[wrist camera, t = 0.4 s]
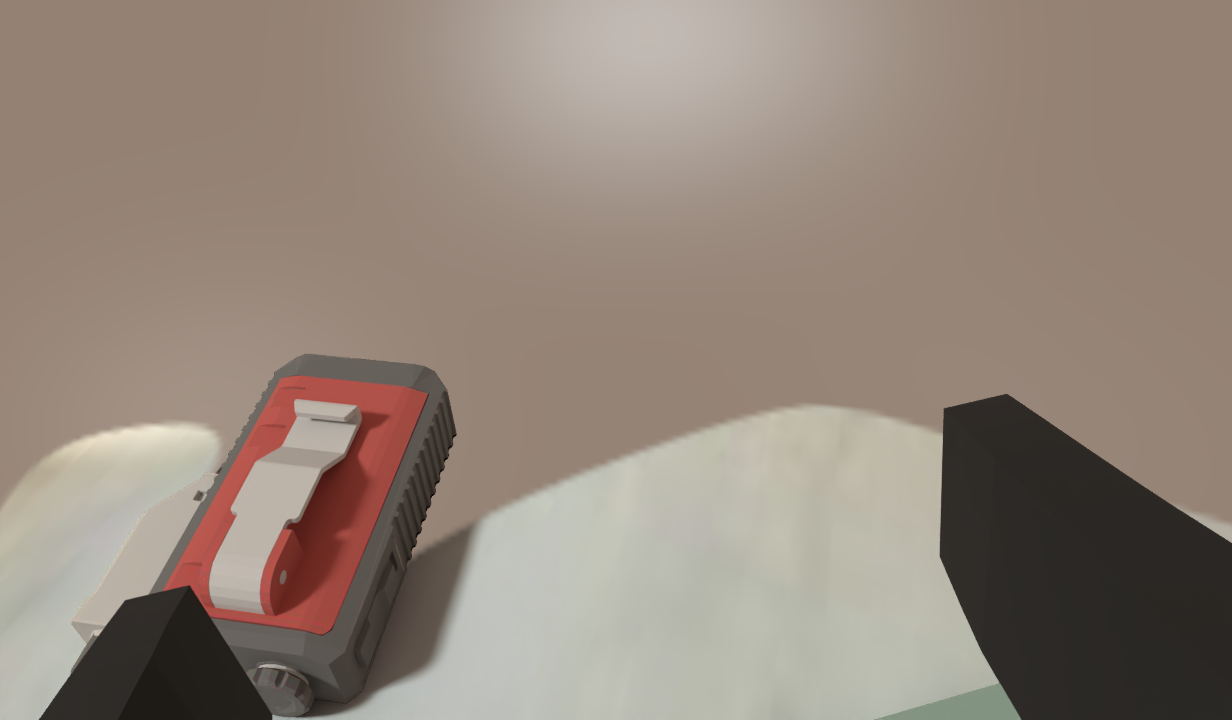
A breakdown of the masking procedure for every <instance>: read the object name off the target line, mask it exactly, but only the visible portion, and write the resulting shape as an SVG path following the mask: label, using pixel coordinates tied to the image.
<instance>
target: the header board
mask: <svg viewBox="0 0 1232 720" xmlns="http://www.w3.org/2000/svg"><path fill="white" fill-rule="evenodd" d="M875 720H1021V718H1020V716H1019V715H1018V713H1017V711H1016V710H1015V708H1014V706H1013V704H1012V703H1011V701H1010V699H1009V698H1008V696H1007V694H1006V693H1005V691H1004V689H1003V687H1002V686H1001V684H1000V683H999V684H996V685H992V686H989V687H986V688H982V689H979V690H975V691H972V692H968V693H965V694H961V695H958V696H955V697H951V698H948V699H944V700H941V701H937V702H934V703H930V704H927V705H924V706H920V707H917V708H913V709H910V710H906V711H903V712H900V713H896V714H893V715H889V716H886V717H882V718H879V719H875Z"/></svg>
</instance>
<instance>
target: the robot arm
mask: <svg viewBox="0 0 1232 720" xmlns="http://www.w3.org/2000/svg"><path fill="white" fill-rule="evenodd" d="M943 423H944V424H943V456H942V492H941V527H940V558H941V560H942V563H943V565H944V567H945V570H946V572H947V575H948V577H949V579H950V582H951V584H952V586H953V589H954V591H955V593H956V596H957V598H958V600H959V603H960V605H961V607H962V609H963V612H964V614H965V616H966V618H967V620H968V623H969V625H970V627H971V629H972V631H973V634H974V636H975V638H976V640H977V642H978V645H979V647H980V649H981V651H982V653H983V655H984V656H985V658H986V660H987V662H988V663H989V665H990V667H991V669H992V670H993V672H994V674H995V676H996V677H997V679H998V681H999V682H1000V684H1001V686H1002V687H1003V689H1004V691H1005V693H1006V694H1007V696H1008V698H1009V699H1010V701H1011V703H1012V704H1013V706H1014V708H1015V710H1016V711H1017V713H1018V715H1019V716H1020V718H1021V720H1232V543H1231V542H1229V541H1228V540H1226V539H1225V538H1223V537H1221V536H1220V535H1218V534H1217V533H1215V532H1214V531H1212V530H1210V529H1209V528H1207V527H1206V526H1204V525H1203V524H1201V523H1199V522H1198V521H1196V520H1195V519H1193V518H1191V517H1190V516H1188V515H1187V514H1185V513H1184V512H1182V511H1180V510H1179V509H1177V508H1176V507H1174V506H1173V505H1171V504H1169V503H1168V502H1166V501H1165V500H1163V499H1162V498H1160V497H1159V496H1157V495H1156V494H1154V493H1153V492H1151V491H1150V490H1148V489H1147V488H1145V487H1144V486H1142V485H1141V484H1139V483H1138V482H1136V481H1135V480H1133V479H1132V478H1130V477H1129V476H1127V475H1126V474H1124V473H1123V472H1121V471H1120V470H1118V469H1117V468H1115V467H1114V466H1112V465H1111V464H1109V463H1108V462H1106V461H1105V460H1104V459H1102V458H1101V457H1099V456H1098V455H1096V454H1095V453H1093V452H1092V451H1090V450H1089V449H1087V448H1086V447H1084V446H1083V445H1081V444H1080V443H1079V442H1077V441H1076V440H1074V439H1073V438H1071V437H1070V436H1068V435H1067V434H1065V433H1064V432H1062V431H1061V430H1059V429H1058V428H1057V427H1055V426H1054V425H1052V424H1051V423H1049V422H1048V421H1046V420H1045V419H1043V418H1042V417H1040V416H1039V415H1037V414H1036V413H1034V412H1033V411H1032V410H1030V409H1029V408H1027V407H1026V406H1024V405H1023V404H1021V403H1020V402H1018V401H1017V400H1015V399H1014V398H1012V397H1011V396H1009V395H1008V394H1004V395H1000V396H996V397H991V398H987V399H983V400H979V401H974V402H970V403H966V404H961V405H957V406H953V407H948V408H944V420H943ZM39 720H272V713H271V711H270V710H269V708H268V707H267V705H266V704H265V702H264V701H263V699H262V697H261V696H260V694H259V693H258V691H257V690H256V688H255V686H254V685H253V683H252V682H251V680H250V679H249V677H248V676H247V674H246V672H245V671H244V669H243V668H242V666H241V665H240V663H239V661H238V660H237V658H236V657H235V655H234V654H233V652H232V651H231V649H230V647H229V646H228V644H227V643H226V641H225V640H224V638H223V636H222V635H221V633H220V632H219V630H218V629H217V627H216V626H215V624H214V622H213V621H212V619H211V618H210V616H209V615H208V613H207V611H206V610H205V608H204V607H203V605H202V604H201V602H200V601H199V599H198V597H197V596H196V594H195V593H194V591H193V590H192V588H191V586H190V585H187V586H183V587H179V588H174V589H170V590H166V591H162V592H157V593H153V594H149V595H144V596H140V597H136V598H132V599H127V600H125V601H124V602H123V603H122V605H121V606H120V607H119V609H118V610H117V611H116V613H115V614H114V615H113V617H112V618H111V619H110V621H109V622H108V623H107V625H106V626H105V627H104V629H103V630H102V632H101V633H100V634H99V636H98V637H97V638H96V640H95V641H94V643H93V644H92V645H91V647H90V648H89V650H88V651H87V652H86V654H85V655H84V657H83V658H82V660H81V661H80V662H79V664H78V665H77V667H76V668H75V669H74V671H73V672H72V674H71V675H70V677H69V678H68V679H67V681H66V682H65V684H64V685H63V686H62V688H61V689H60V691H59V692H58V694H57V695H56V696H55V698H54V699H53V701H52V702H51V703H50V705H49V706H48V708H47V709H46V711H45V712H44V713H43V715H42V716H41V718H40V719H39Z"/></svg>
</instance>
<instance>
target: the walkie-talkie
mask: <svg viewBox="0 0 1232 720" xmlns="http://www.w3.org/2000/svg"><path fill="white" fill-rule="evenodd" d="M255 407H256V409H255V411H254V412H253V414H251V415H250V416H249V422H248V423H247V425H246V426H244V427H243V429H242V431H243V432H242V434H241V435H240V437H239V438H237V439H236V441H235V443H236V444H235V446H234V448H233V449H232V450H231V451H230V452H229V454H228V455H229V457H228V459H227V460H226V462H224V463H223V464H222V466H221V468H220V469H219V470H218V471H217V473H216V474H215V473H206V472H205V473H204V475H203V477H201V478H200V479H198V480H196V481H195V482H193V483H191V484H190V485H188V486H186V487H185V488H183V489H181V490H180V491H178V492H177V493H175V494H173V495H172V496H170V497H168V498H167V499H165V500H163V501H162V502H160V503H158V504H157V505H155V506H153V507H152V508H150V509H149V510H147V511H146V512H144V513H143V514H142V515H141V516H140V518H139V519H138V521H137V523H136V524H135V526H134V527H133V529H132V531H131V532H130V534H129V536H128V537H127V539H126V540H125V542H124V544H123V545H122V547H121V548H120V550H119V552H118V553H117V555H116V557H115V558H114V560H113V561H112V563H111V565H110V566H109V568H108V570H107V571H106V573H105V574H104V576H103V578H102V579H101V581H100V583H99V584H98V586H97V587H96V589H95V591H94V592H93V594H92V595H91V596H90V597H88V598H87V599H85V600H84V601H83V602H82V604H81V605H80V607H79V609H78V610H77V612H76V613H75V615H74V617H73V618H72V620H71V624H72V625H73V627H74V628H75V629H76V631H77V632H78V633H79V634H80V636H81V637H82V638H83V640H84V641H85V642H86V643H87V645H86V647H85V648H84V650H83V652H82V653H81V655H80V656H79V658H78V660H77V661H76V663H75V665H74V666H73V668H72V670H71V674H72V672H73V671H74V669H75V668H76V667H77V665H78V664H79V662H80V661H81V660H82V658H83V657H84V655H85V654H86V652H87V651H88V650H89V648H90V647H91V645H92V644H93V643H94V641H95V640H96V638H97V637H98V636H99V634H100V633H101V632H102V630H103V629H104V627H105V626H106V625H107V623H108V622H109V621H110V619H111V618H112V617H113V615H114V614H115V613H116V611H117V610H118V609H119V607H120V606H121V605H122V603H123V602H124V601H125V600H127V599H132V598H136V597H140V596H144V595H149V594H153V593H157V592H162V591H166V590H170V589H174V588H179V587H183V586H187V585H190V586H191V588H192V590H193V591H194V593H195V594H196V596H197V597H198V599H199V601H200V602H201V604H202V605H203V607H204V608H205V610H206V611H207V613H208V615H209V616H210V618H211V619H212V621H213V622H214V624H215V626H216V627H217V629H218V630H219V632H220V633H221V635H222V636H223V638H224V640H225V641H226V643H227V644H228V646H229V647H230V649H231V651H232V652H233V654H234V655H235V657H236V658H237V660H238V661H239V663H240V665H241V666H242V668H243V669H244V671H245V672H246V674H247V676H248V677H249V679H250V680H251V682H252V683H253V685H254V686H255V688H256V690H257V691H258V693H259V694H260V696H261V697H262V699H263V701H264V702H265V704H266V705H267V707H268V708H269V710H270V711H271V713H272V714H273V715H276V716H282V717H293V716H299V715H303V714H305V713H306V712H309V709H310V707H311V705H312V703H313V700H314V699H318V700H324V701H330V702H337V703H344V704H347V703H348V702H350V701H351V700H352V699H353V698H355V697H356V696H357V695H358V694H360V693H361V692H362V689H363V687H364V684H365V681H366V679H367V676H368V673H369V670H370V668H371V665H372V662H373V659H374V657H375V654H376V651H377V649H378V646H379V643H380V640H381V638H382V635H383V632H384V630H385V627H386V624H387V621H388V619H389V616H390V613H391V610H392V608H393V605H394V602H395V600H396V597H397V594H398V591H399V589H400V586H401V583H402V580H403V578H404V575H405V572H406V570H407V568H406V565H405V564H406V561H407V560H408V559H411V557H412V554H411V552H412V549H413V548H414V547H416V544H417V540H416V538H417V536H418V534H420V533H421V531H422V527H421V525H422V522H423V521H425V520H426V517H427V515H426V511H427V509H428V508H430V506H431V498H432V496H434V495H435V493H436V489H435V487H436V484H438V483H439V482H440V473H441V472H442V471H443V470H444V468H445V466H444V463H445V460H447V459H448V457H449V453H448V452H449V449H450V448H452V446H453V438H454V437H455V436H456V435H457V434H456V429H455V424H454V420H453V415H452V411H451V406H450V402H449V396H448V393H447V389H446V388H445V386H444V385H443V383H442V382H441V380H440V379H439V377H438V376H437V374H436V373H435V371H432V370H431V369H429V368H427V367H425V366H420V365H416V364H406V363H396V362H386V361H376V360H366V359H356V358H346V357H336V356H326V355H317V354H304V355H301V356H299V357H297V358H295V359H294V360H292V361H291V362H289V363H288V364H286V365H285V366H283V367H282V368H280V369H279V370H277V371H276V372H274V377H273V379H272V380H270V381H269V383H268V388H267V389H266V391H264V392H263V394H262V398H261V400H260V402H258V403H257V404H256V406H255Z"/></svg>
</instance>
